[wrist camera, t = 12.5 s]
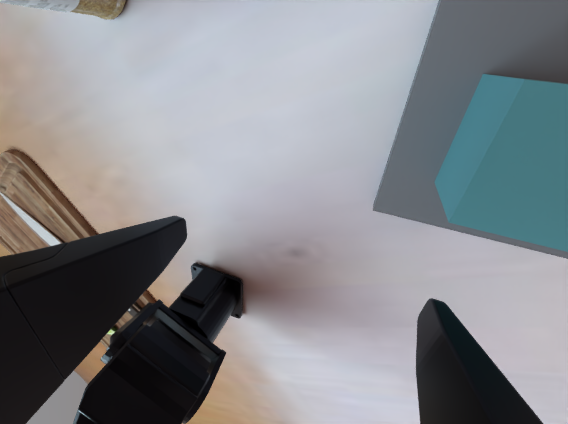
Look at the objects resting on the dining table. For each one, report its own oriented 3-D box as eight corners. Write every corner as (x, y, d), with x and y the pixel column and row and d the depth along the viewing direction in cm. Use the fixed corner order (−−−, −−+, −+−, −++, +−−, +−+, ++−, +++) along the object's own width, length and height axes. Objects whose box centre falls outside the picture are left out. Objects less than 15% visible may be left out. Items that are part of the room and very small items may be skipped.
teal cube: (483, 73, 13) (524, 79, 9) (634, 91, 11) (767, 107, 7) (434, 181, 16) (448, 222, 12) (547, 206, 15) (607, 261, 11)
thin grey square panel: (567, 250, 16) (615, 302, 13) (373, 204, 19) (369, 235, 16) (777, 13, 10) (987, -13, 6) (440, -3, 13) (458, -27, 9)
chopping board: (-32, 197, 45) (-57, 205, 42) (3, 120, 31) (-32, 125, 28) (138, 368, 57) (126, 382, 54) (218, 367, 43) (207, 386, 40)
